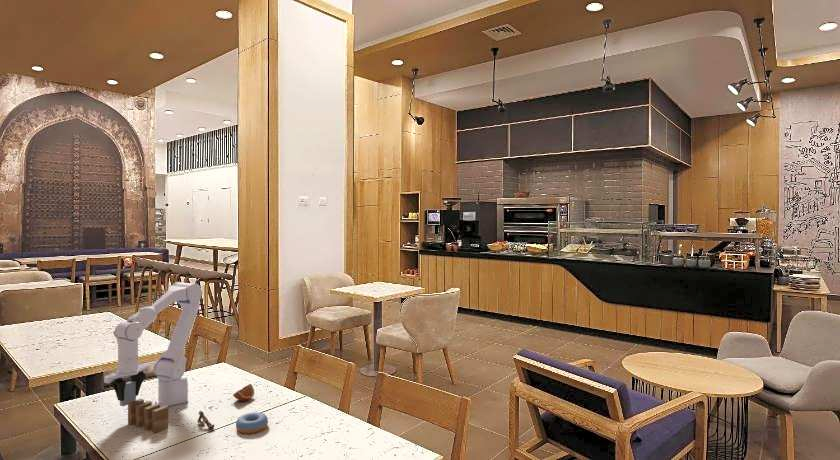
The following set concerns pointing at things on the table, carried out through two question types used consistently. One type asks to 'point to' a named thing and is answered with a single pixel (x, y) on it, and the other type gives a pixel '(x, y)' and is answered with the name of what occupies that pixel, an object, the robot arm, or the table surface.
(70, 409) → the table surface
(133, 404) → the domino
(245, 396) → the fruit slice
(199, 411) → the dark angular frame
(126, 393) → the domino
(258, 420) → the doughnut
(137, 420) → the domino
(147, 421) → the domino
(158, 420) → the domino
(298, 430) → the table surface
